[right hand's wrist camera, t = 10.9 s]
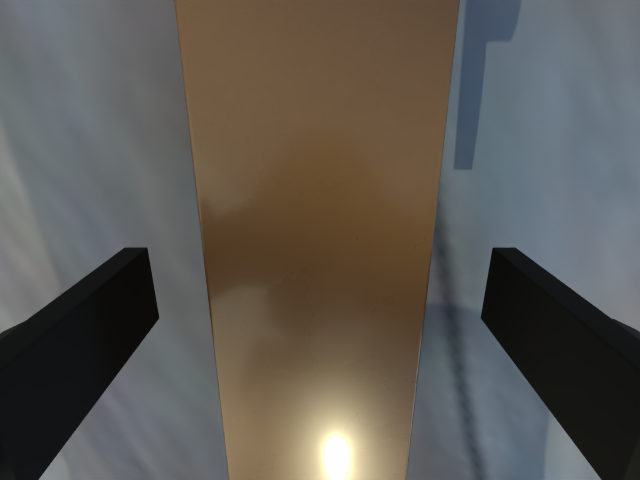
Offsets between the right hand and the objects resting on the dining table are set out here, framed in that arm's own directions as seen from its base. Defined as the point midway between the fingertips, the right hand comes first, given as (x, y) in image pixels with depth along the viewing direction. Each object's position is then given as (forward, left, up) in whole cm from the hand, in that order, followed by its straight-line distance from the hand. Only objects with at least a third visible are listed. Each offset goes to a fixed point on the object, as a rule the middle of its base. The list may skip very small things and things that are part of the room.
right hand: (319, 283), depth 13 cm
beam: (+23, +26, -4) cm, 35 cm away
